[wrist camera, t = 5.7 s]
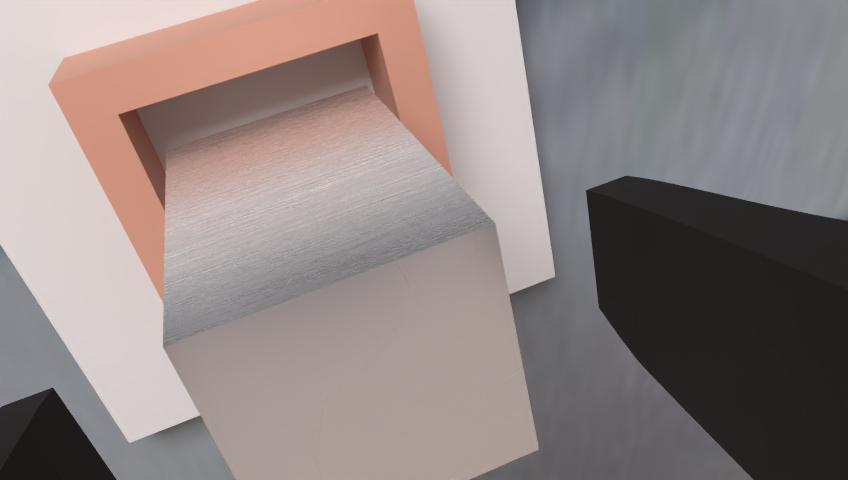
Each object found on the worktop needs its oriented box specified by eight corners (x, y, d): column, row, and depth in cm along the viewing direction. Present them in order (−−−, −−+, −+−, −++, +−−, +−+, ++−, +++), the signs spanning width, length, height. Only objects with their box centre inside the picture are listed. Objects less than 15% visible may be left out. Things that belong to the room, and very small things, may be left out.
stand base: (539, 259, 20) (604, 327, 17) (131, 417, 18) (123, 524, 15) (462, -224, 14) (543, -251, 11) (-170, -63, 12) (-285, -41, 9)
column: (413, 260, 14) (541, 461, 9) (245, 323, 14) (287, 572, 9) (365, 84, 12) (496, 223, 7) (166, 150, 12) (161, 347, 7)
